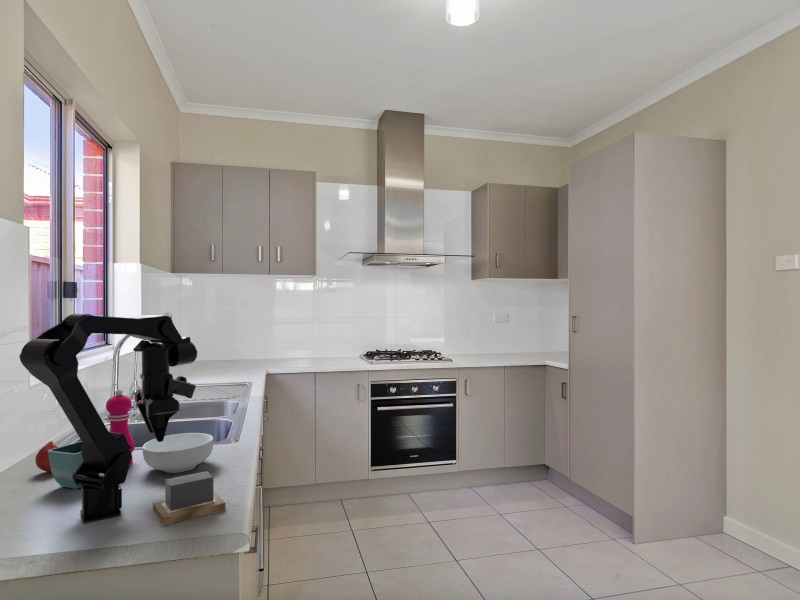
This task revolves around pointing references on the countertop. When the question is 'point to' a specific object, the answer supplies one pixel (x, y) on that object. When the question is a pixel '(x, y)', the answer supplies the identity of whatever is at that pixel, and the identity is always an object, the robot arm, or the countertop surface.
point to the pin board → (187, 510)
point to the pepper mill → (120, 416)
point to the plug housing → (188, 490)
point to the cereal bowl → (178, 451)
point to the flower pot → (66, 463)
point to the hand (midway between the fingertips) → (156, 437)
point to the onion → (44, 457)
